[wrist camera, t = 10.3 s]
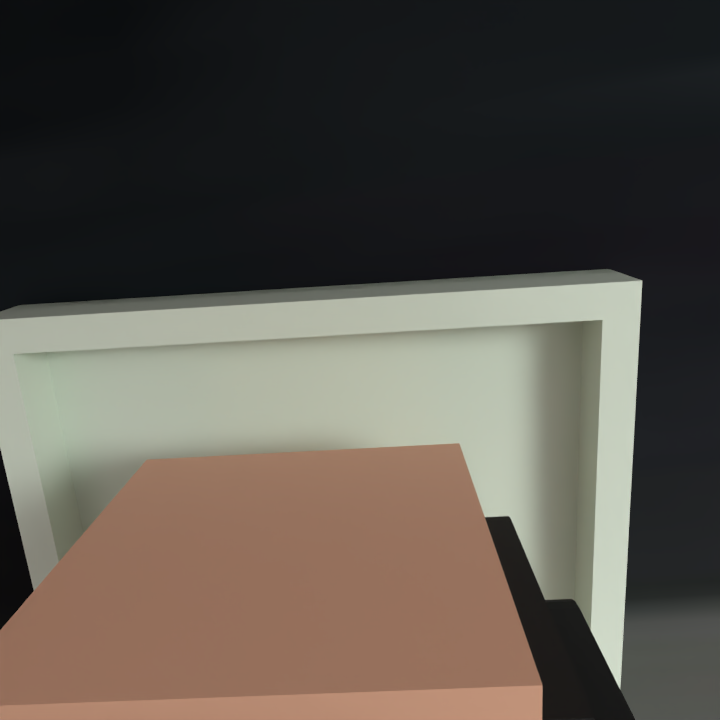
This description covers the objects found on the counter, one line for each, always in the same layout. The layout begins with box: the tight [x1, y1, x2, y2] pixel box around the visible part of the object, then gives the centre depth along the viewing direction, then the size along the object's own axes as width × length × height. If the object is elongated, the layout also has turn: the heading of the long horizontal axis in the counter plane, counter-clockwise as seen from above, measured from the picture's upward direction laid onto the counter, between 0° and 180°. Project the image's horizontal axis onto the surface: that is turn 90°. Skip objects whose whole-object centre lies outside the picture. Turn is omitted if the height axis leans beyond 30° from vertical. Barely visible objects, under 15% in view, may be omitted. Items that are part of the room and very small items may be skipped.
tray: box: [0, 269, 642, 688], centre depth 12 cm, size 9×11×2 cm
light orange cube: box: [0, 443, 543, 720], centre depth 8 cm, size 5×5×5 cm
